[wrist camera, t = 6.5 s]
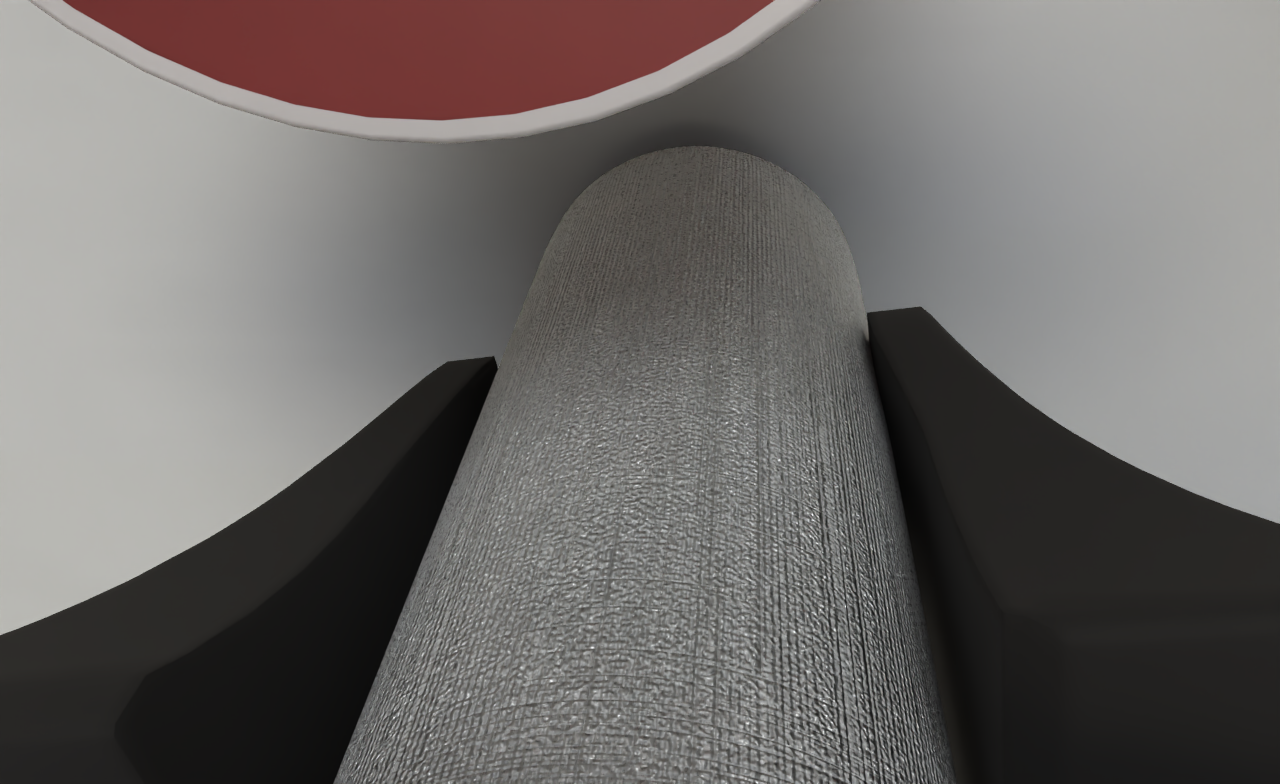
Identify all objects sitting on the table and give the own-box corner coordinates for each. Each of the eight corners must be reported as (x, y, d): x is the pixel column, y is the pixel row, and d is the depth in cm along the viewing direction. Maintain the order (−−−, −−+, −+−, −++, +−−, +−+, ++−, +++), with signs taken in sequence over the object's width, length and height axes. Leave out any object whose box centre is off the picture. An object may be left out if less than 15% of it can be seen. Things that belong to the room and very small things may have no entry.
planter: (524, 390, 16) (267, 1137, 8) (568, 108, 14) (262, 737, 5) (807, 450, 16) (870, 1252, 8) (901, 180, 14) (1143, 913, 5)
